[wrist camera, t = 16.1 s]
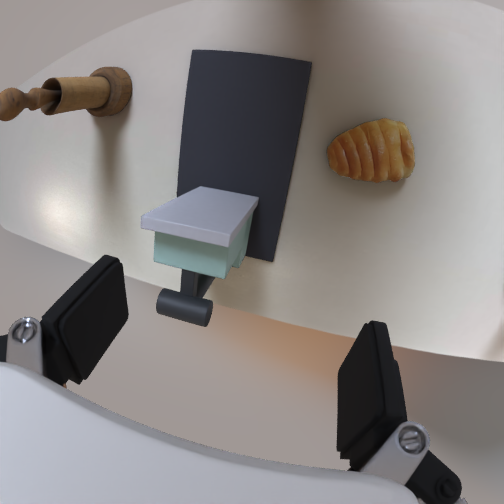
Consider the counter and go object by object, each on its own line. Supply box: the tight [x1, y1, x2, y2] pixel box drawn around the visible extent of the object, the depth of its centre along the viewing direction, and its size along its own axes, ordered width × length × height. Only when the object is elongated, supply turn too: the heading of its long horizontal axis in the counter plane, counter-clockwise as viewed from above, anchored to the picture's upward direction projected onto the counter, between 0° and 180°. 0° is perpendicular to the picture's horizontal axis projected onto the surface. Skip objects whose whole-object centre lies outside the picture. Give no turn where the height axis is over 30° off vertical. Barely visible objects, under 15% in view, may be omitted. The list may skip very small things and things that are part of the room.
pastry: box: [327, 118, 415, 183], centre depth 28 cm, size 9×7×4 cm
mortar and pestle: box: [0, 67, 132, 121], centre depth 23 cm, size 7×6×18 cm
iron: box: [141, 186, 259, 327], centre depth 29 cm, size 14×7×10 cm
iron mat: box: [177, 50, 312, 262], centre depth 32 cm, size 24×13×1 cm, turn 172°
